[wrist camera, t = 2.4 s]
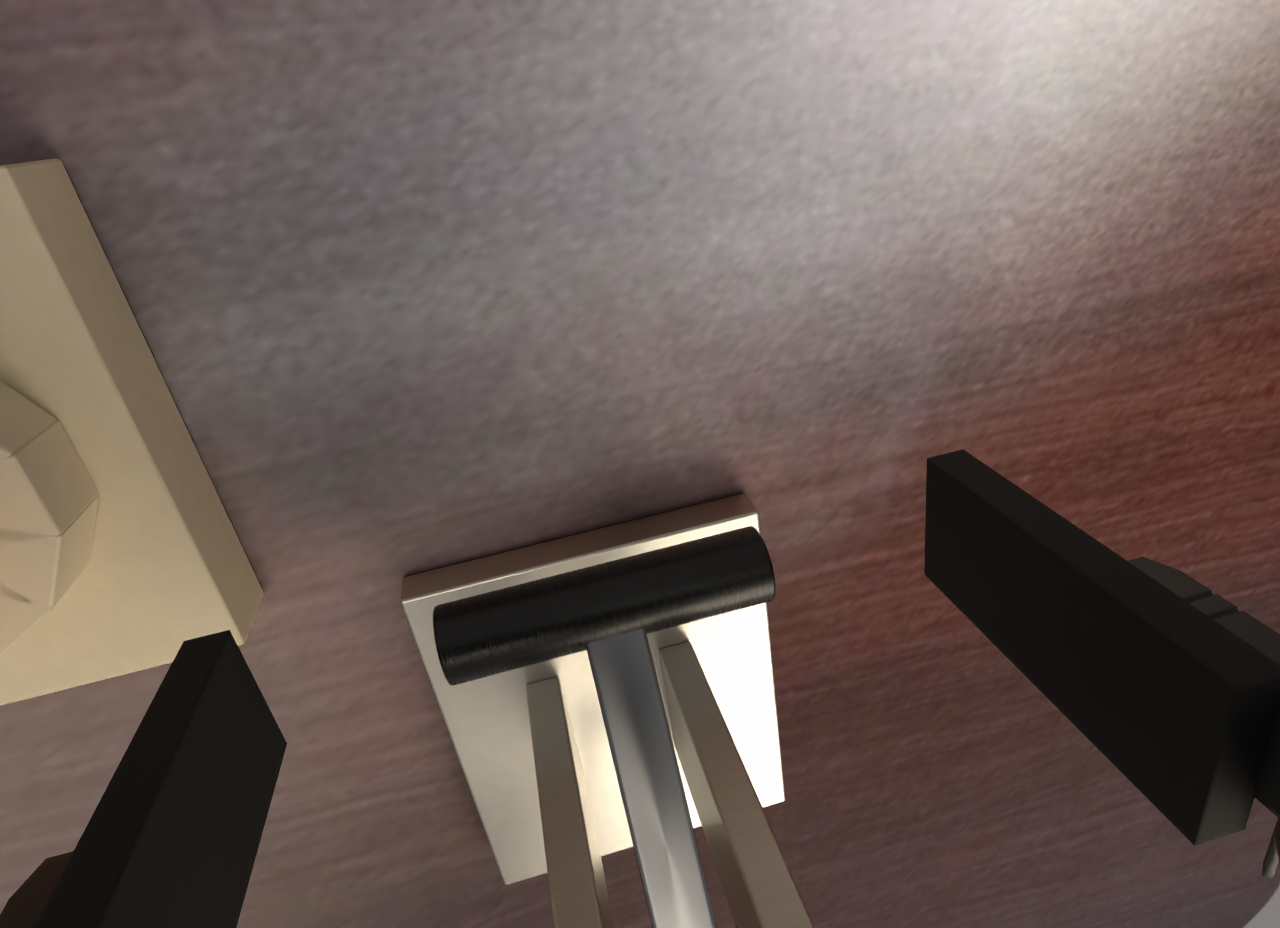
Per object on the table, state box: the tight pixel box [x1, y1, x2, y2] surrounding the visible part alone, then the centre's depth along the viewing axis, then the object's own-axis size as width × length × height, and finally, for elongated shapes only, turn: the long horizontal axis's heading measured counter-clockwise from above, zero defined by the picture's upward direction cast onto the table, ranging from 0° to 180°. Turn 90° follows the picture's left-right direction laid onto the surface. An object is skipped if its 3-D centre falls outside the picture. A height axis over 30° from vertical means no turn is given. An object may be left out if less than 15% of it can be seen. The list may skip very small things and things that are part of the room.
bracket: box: [401, 494, 815, 928], centre depth 18 cm, size 12×10×14 cm
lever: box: [433, 526, 775, 928], centre depth 14 cm, size 12×6×2 cm, turn 9°
